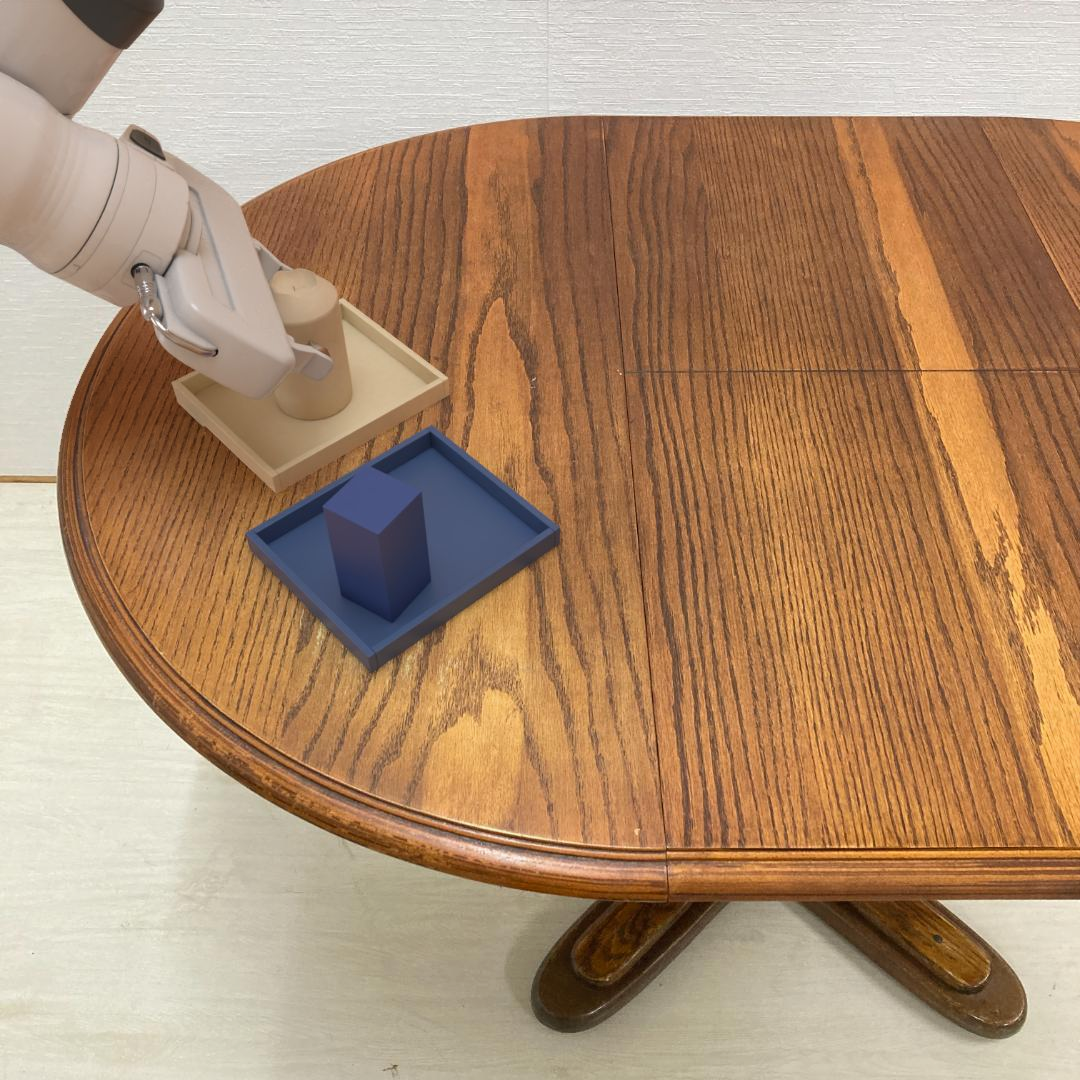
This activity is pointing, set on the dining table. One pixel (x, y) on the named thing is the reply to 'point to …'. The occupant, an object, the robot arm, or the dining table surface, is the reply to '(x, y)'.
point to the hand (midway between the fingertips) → (310, 326)
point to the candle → (316, 318)
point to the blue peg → (379, 542)
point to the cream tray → (307, 445)
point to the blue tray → (452, 537)
